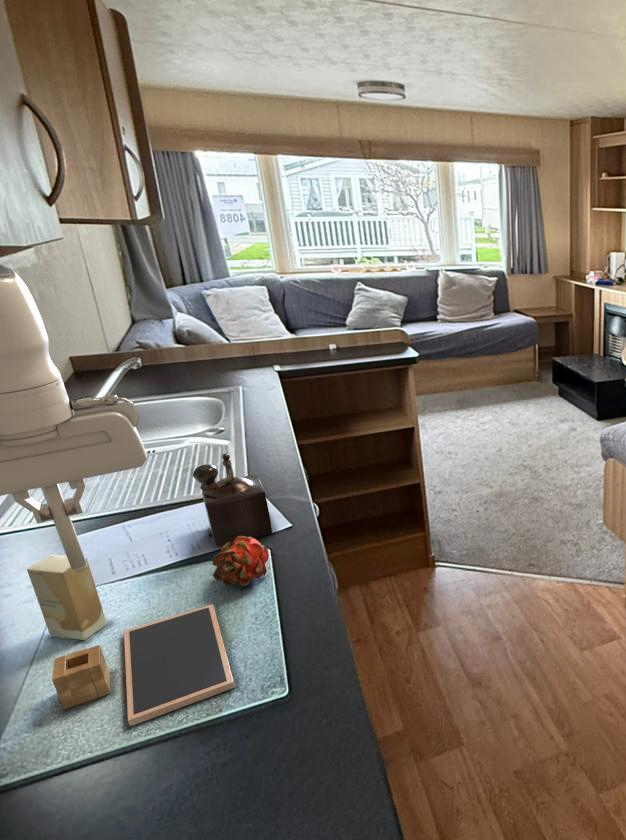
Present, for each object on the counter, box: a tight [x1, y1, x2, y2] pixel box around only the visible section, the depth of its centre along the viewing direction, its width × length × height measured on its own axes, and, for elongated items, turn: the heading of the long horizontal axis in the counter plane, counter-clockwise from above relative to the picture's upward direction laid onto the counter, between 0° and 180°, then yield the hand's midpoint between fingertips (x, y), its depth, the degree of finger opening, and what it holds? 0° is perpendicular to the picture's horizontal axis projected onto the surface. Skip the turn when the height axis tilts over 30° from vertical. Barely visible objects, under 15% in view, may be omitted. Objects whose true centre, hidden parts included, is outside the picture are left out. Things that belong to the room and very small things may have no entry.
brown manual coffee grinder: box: [192, 452, 273, 548], centre depth 124 cm, size 16×11×18 cm
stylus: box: [40, 484, 87, 572], centre depth 79 cm, size 2×2×15 cm
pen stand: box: [51, 644, 111, 710], centre depth 88 cm, size 5×5×5 cm
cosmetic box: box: [26, 553, 108, 641], centre depth 98 cm, size 6×4×12 cm
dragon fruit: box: [211, 536, 270, 587], centre depth 113 cm, size 8×8×12 cm
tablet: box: [123, 603, 236, 727], centre depth 94 cm, size 12×22×1 cm, turn 35°
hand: (61, 516), depth 79 cm, fingers closed on stylus, 1 cm apart
